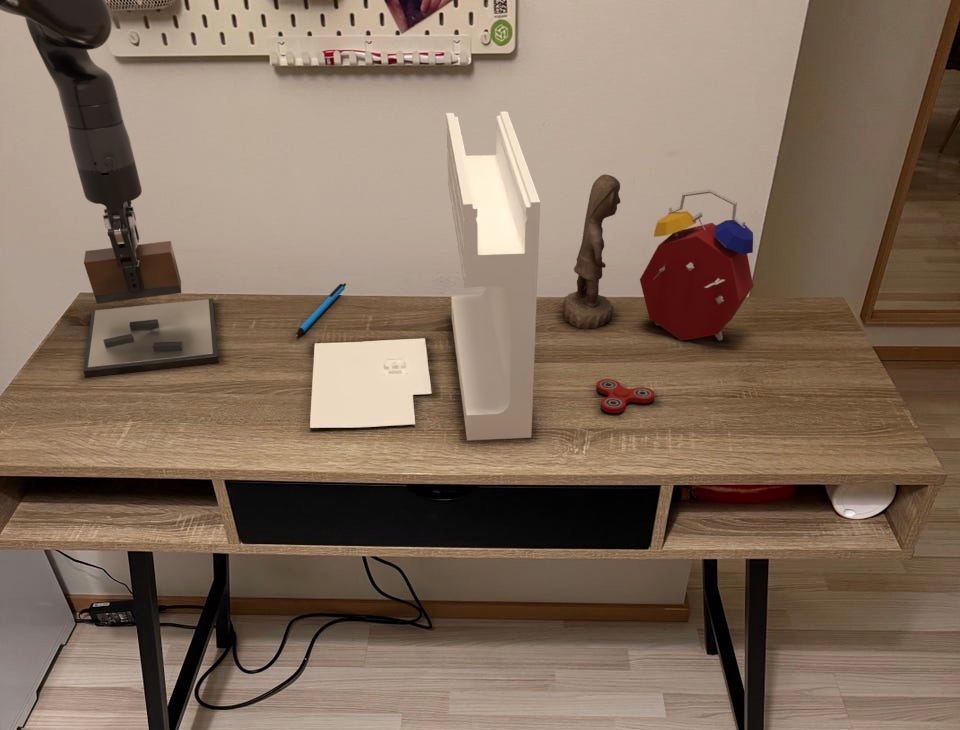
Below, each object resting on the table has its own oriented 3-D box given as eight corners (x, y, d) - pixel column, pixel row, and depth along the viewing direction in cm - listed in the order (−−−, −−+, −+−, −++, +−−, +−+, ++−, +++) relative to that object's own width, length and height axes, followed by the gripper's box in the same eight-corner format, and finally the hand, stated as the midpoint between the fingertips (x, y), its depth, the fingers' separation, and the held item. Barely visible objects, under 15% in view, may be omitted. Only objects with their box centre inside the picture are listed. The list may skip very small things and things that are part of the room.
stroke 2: (130, 330, 136) (129, 325, 136) (130, 327, 137) (129, 321, 136) (158, 327, 137) (157, 322, 136) (158, 324, 138) (157, 318, 137)
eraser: (97, 304, 135) (83, 262, 131) (98, 291, 138) (85, 250, 134) (181, 293, 137) (170, 251, 133) (181, 281, 140) (170, 240, 136)
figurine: (622, 323, 140) (637, 181, 127) (578, 332, 138) (588, 189, 124) (593, 300, 146) (605, 162, 133) (550, 308, 144) (557, 169, 130)
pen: (347, 287, 150) (347, 280, 149) (299, 338, 136) (298, 331, 136) (342, 286, 150) (342, 279, 149) (294, 338, 136) (292, 330, 136)
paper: (306, 345, 135) (305, 337, 134) (424, 336, 137) (424, 329, 136) (310, 434, 117) (309, 426, 116) (445, 423, 119) (445, 415, 118)
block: (531, 437, 116) (540, 202, 97) (466, 440, 116) (463, 204, 97) (504, 316, 142) (507, 111, 123) (451, 318, 141) (446, 113, 122)
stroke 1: (106, 348, 132) (104, 342, 131) (104, 344, 133) (102, 339, 132) (134, 341, 133) (133, 336, 133) (132, 338, 134) (131, 333, 134)
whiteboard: (85, 377, 128) (82, 369, 127) (93, 316, 142) (91, 309, 142) (218, 362, 131) (217, 354, 130) (213, 304, 145) (212, 297, 145)
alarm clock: (743, 335, 137) (772, 191, 123) (723, 359, 132) (751, 211, 118) (650, 313, 143) (667, 173, 129) (627, 335, 137) (642, 191, 123)
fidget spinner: (610, 417, 120) (611, 408, 119) (576, 393, 124) (577, 384, 124) (658, 401, 123) (660, 392, 122) (624, 378, 128) (625, 369, 127)
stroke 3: (153, 351, 131) (152, 345, 131) (155, 347, 132) (153, 342, 132) (182, 350, 131) (181, 345, 131) (183, 346, 132) (182, 341, 132)
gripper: (79, 146, 129) (112, 269, 141) (71, 178, 119) (108, 308, 131) (135, 142, 131) (163, 264, 142) (132, 173, 120) (163, 303, 132)
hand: (137, 285), depth 137 cm, fingers closed on eraser, 4 cm apart
